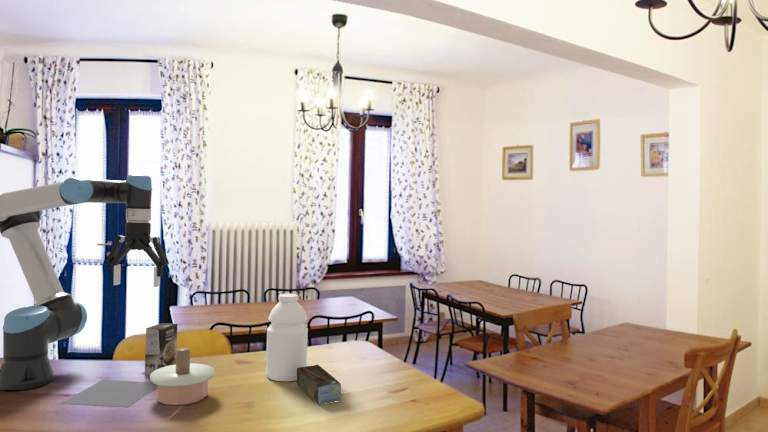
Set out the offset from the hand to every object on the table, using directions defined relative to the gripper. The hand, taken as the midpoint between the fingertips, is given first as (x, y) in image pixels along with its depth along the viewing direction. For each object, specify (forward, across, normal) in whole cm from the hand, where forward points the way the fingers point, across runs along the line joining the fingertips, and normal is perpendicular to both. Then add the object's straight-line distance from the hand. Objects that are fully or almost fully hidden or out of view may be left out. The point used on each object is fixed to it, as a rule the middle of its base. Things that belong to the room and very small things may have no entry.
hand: (136, 285), depth 170 cm
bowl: (+31, +23, -15) cm, 41 cm away
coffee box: (+31, +6, +6) cm, 32 cm away
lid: (+24, +23, -15) cm, 36 cm away
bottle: (+31, +49, +9) cm, 59 cm away
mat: (+31, +2, -15) cm, 34 cm away
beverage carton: (+31, +63, -6) cm, 70 cm away
